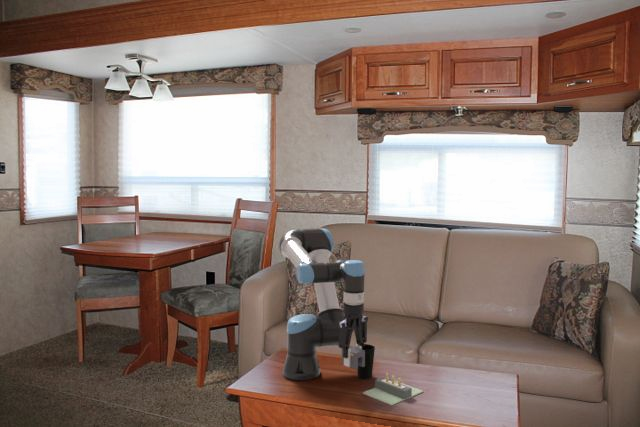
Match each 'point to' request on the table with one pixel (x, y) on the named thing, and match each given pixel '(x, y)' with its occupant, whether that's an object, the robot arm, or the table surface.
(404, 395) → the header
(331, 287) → the robot arm
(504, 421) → the table surface
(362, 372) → the cup
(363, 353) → the plug block
